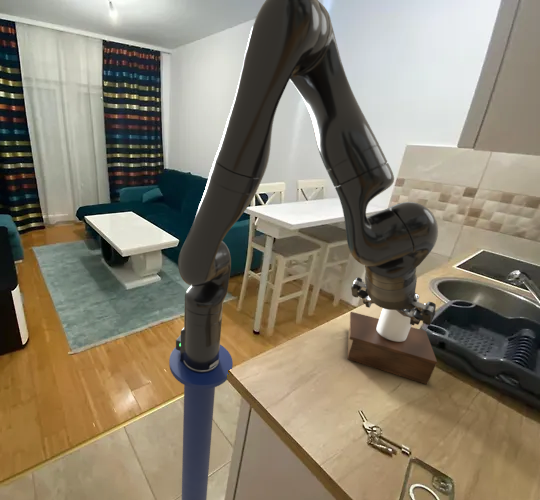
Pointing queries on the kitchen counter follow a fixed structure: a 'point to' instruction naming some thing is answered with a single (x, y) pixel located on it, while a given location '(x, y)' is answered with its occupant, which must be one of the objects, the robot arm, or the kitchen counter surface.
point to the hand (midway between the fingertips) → (390, 311)
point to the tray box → (390, 361)
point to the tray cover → (367, 334)
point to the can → (394, 324)
